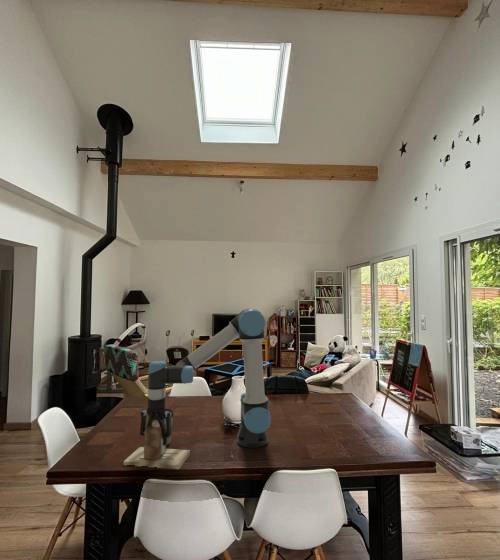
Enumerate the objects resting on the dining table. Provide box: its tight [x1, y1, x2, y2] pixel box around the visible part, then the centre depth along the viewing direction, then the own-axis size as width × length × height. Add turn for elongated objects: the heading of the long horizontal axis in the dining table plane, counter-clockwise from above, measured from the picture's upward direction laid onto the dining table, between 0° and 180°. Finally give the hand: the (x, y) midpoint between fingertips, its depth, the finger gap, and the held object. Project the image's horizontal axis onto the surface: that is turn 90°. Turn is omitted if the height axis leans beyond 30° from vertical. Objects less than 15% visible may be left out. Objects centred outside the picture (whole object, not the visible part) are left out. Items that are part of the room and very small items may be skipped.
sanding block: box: [143, 421, 167, 460], centre depth 141 cm, size 6×9×12 cm, turn 172°
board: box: [123, 446, 191, 470], centre depth 140 cm, size 24×14×2 cm, turn 82°
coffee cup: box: [155, 408, 174, 446], centre depth 157 cm, size 8×8×15 cm
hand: (155, 452), depth 141 cm, fingers closed on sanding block, 6 cm apart
